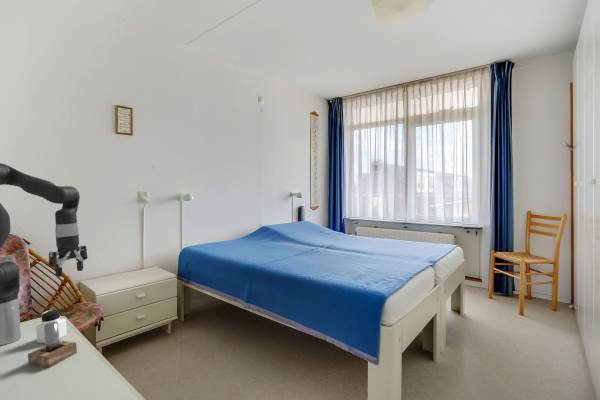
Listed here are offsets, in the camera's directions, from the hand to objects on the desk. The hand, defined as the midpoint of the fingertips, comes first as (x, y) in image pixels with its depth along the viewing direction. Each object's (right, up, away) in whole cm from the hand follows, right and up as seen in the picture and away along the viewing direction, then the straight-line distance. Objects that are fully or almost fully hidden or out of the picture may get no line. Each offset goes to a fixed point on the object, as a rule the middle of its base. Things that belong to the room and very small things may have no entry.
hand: (70, 273), depth 126 cm
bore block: (+4, -29, -13) cm, 32 cm away
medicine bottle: (-10, -29, +3) cm, 30 cm away
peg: (+4, -28, -13) cm, 31 cm away
